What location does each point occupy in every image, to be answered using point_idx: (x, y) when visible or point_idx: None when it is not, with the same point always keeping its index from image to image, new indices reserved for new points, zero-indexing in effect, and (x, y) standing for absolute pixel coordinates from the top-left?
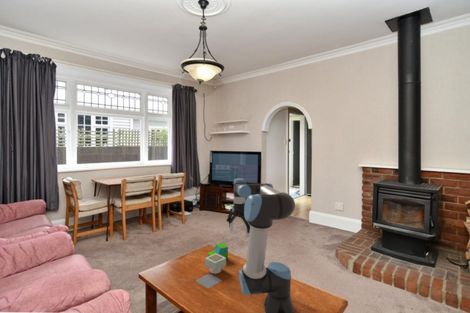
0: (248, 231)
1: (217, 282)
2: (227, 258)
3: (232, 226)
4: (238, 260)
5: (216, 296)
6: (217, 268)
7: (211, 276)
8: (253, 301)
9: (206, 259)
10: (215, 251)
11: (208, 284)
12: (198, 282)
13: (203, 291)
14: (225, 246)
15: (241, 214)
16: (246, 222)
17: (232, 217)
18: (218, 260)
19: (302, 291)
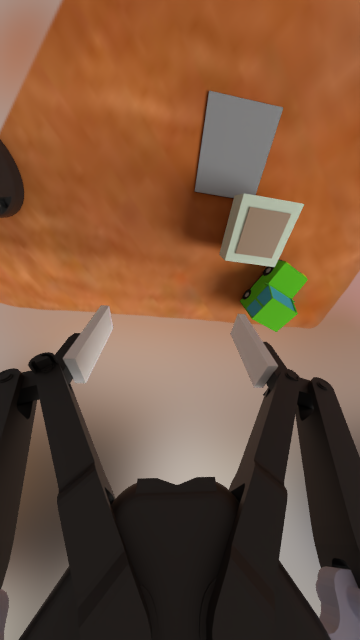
0: (69, 341)
1: (201, 165)
2: (241, 300)
3: (245, 357)
4: (214, 312)
5: (150, 64)
6: (231, 210)
7: (238, 187)
8: (46, 149)
9: (293, 202)
10: (285, 295)
11: (221, 124)
12: (264, 104)
13: (213, 53)
14: (261, 317)
15: (81, 590)
16: (47, 417)
17: (279, 440)
18: (241, 224)
19: (23, 285)
